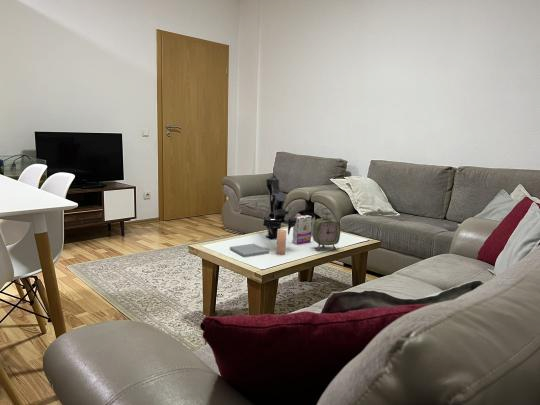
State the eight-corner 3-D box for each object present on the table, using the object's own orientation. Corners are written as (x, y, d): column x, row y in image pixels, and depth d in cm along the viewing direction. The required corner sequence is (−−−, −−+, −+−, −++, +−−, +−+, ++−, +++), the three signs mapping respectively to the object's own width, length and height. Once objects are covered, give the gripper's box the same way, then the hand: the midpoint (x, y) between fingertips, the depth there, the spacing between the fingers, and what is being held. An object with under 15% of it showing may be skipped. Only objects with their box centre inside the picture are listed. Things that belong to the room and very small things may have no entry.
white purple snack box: (312, 237, 281) (314, 214, 279) (291, 234, 286) (293, 212, 283) (315, 234, 290) (317, 212, 287) (295, 231, 294) (296, 209, 291)
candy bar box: (305, 240, 273) (307, 214, 270) (310, 242, 269) (312, 216, 266) (291, 242, 266) (293, 216, 263) (297, 244, 262) (298, 218, 259)
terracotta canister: (274, 252, 244) (275, 230, 241) (281, 251, 247) (282, 229, 244) (279, 255, 240) (280, 232, 237) (286, 254, 243) (288, 231, 240)
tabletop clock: (316, 251, 250) (318, 209, 245) (310, 247, 258) (312, 205, 254) (339, 250, 254) (342, 208, 249) (332, 246, 262) (335, 205, 258)
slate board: (229, 249, 246) (229, 246, 246) (253, 246, 255) (253, 243, 255) (244, 257, 233) (244, 254, 233) (268, 253, 242) (269, 250, 242)
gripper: (264, 203, 246) (265, 226, 237) (296, 203, 248) (299, 226, 239) (262, 213, 255) (263, 236, 246) (293, 214, 257) (296, 237, 248)
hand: (280, 234), depth 244 cm, fingers open, 9 cm apart
